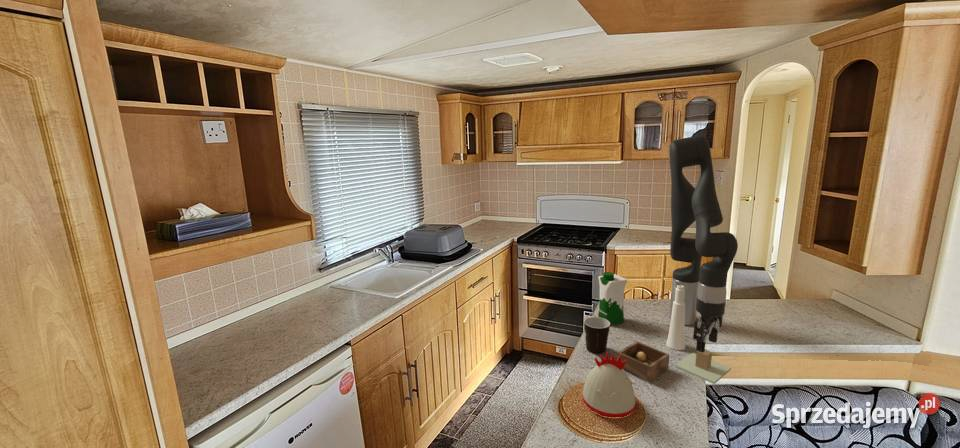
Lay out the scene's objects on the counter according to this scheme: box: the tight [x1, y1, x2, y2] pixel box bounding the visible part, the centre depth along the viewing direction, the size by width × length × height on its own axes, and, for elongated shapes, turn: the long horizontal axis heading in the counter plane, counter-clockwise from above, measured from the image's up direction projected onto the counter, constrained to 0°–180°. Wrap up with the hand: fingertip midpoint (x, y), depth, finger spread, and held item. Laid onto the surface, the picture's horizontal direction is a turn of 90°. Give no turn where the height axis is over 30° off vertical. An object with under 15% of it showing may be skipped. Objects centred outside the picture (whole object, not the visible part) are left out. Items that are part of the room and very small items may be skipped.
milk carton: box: [597, 271, 628, 326], centre depth 155 cm, size 9×9×20 cm
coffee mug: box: [583, 316, 611, 355], centre depth 134 cm, size 12×9×10 cm
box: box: [616, 340, 670, 384], centre depth 124 cm, size 11×11×5 cm
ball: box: [636, 352, 646, 361], centre depth 127 cm, size 3×3×3 cm
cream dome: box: [581, 350, 636, 417], centre depth 107 cm, size 14×14×15 cm
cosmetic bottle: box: [665, 285, 687, 351], centre depth 134 cm, size 6×6×22 cm
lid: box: [674, 349, 732, 385], centre depth 122 cm, size 12×12×6 cm
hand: (706, 346), depth 121 cm, fingers open, 8 cm apart
